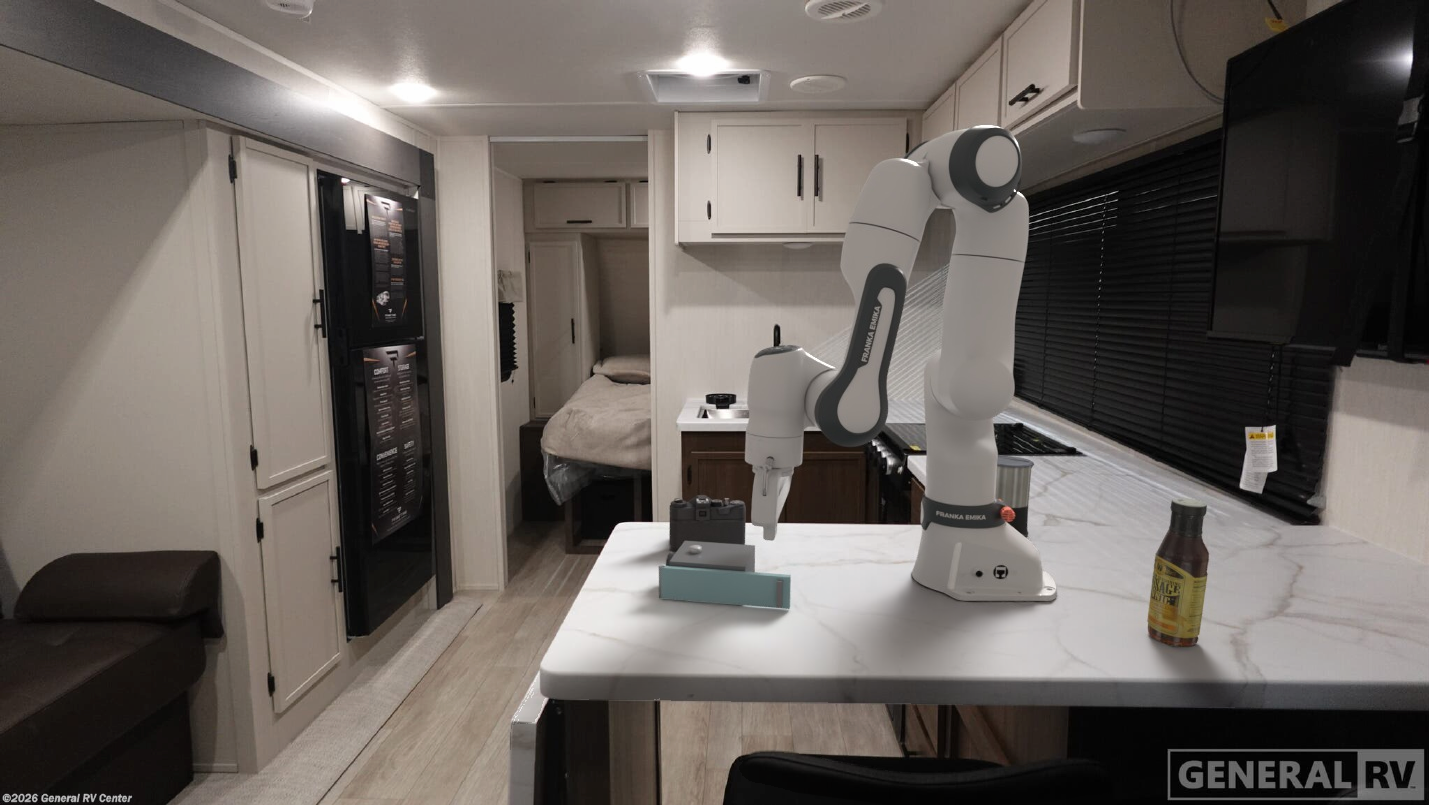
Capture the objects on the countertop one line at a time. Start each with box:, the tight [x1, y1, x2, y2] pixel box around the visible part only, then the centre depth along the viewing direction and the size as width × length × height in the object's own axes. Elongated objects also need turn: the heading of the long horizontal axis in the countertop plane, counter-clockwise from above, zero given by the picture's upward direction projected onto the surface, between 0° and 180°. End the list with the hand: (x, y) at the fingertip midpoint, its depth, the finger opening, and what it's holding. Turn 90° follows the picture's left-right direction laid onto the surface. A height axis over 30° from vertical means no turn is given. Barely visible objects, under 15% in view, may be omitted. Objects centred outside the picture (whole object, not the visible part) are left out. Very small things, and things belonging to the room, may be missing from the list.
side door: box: [658, 564, 792, 610], centre depth 114 cm, size 20×2×5 cm, turn 78°
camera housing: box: [665, 541, 756, 572], centre depth 121 cm, size 13×10×7 cm
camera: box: [668, 494, 747, 552], centre depth 142 cm, size 14×11×10 cm
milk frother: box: [995, 455, 1035, 537], centre depth 146 cm, size 14×16×15 cm
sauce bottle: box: [1146, 497, 1210, 648], centre depth 102 cm, size 7×6×20 cm
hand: (769, 537), depth 117 cm, fingers closed
